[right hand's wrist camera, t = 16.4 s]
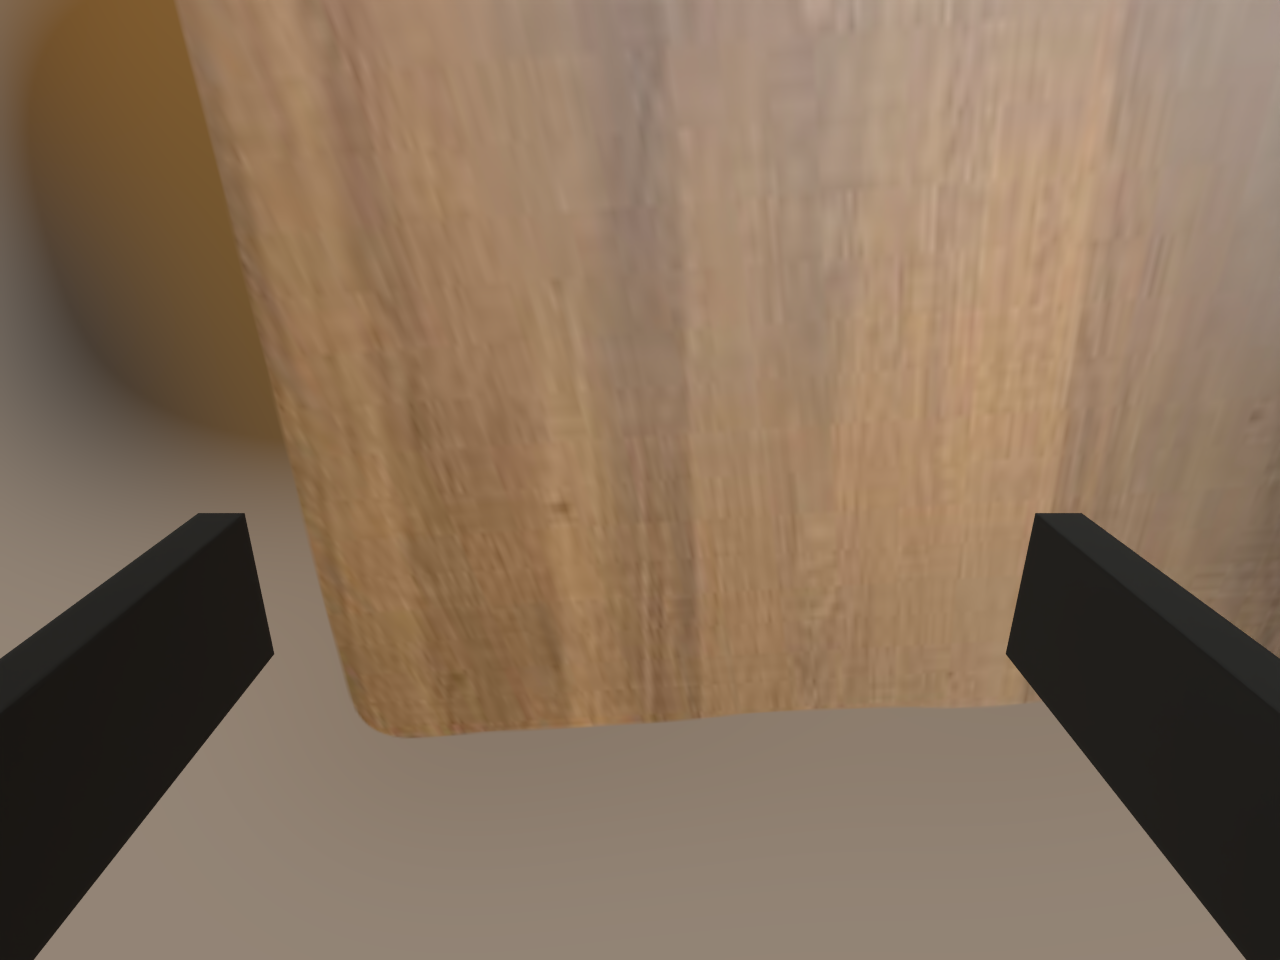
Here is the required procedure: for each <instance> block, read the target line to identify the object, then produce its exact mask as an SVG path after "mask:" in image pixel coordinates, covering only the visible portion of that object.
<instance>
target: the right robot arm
mask: <svg viewBox="0 0 1280 960" xmlns="http://www.w3.org/2000/svg"><path fill="white" fill-rule="evenodd" d="M273 655H274V651H273V646H272V641H271V637H270V632H269V627H268V622H267V618H266V613H265V608H264V603H263V599H262V594H261V589H260V584H259V580H258V575H257V570H256V565H255V561H254V556H253V551H252V546H251V542H250V537H249V532H248V528H247V523H246V518H245V514H244V513H198V514H197V515H195V516H194V517H193V518H191V519H190V520H189V521H187V522H186V523H184V524H183V525H182V526H180V527H179V528H178V529H176V530H175V531H174V532H172V533H171V534H169V535H168V536H167V537H165V538H164V539H163V540H161V541H160V542H159V543H157V544H156V545H155V546H153V547H152V548H151V549H149V550H148V551H146V552H145V553H144V554H142V555H141V556H140V557H138V558H137V559H135V560H134V561H133V562H131V563H130V564H129V565H127V566H126V567H125V568H123V569H122V570H120V571H119V572H118V573H116V574H115V575H114V576H112V577H111V578H110V579H108V580H107V581H105V582H104V583H103V584H101V585H100V586H99V587H97V588H96V589H95V590H93V591H92V592H91V593H89V594H88V595H86V596H85V597H84V598H82V599H81V600H80V601H78V602H77V603H76V604H74V605H73V606H71V607H70V608H69V609H67V610H66V611H65V612H63V613H62V614H61V615H59V616H58V617H56V618H55V619H54V620H52V621H51V622H50V623H48V624H47V625H46V626H44V627H43V628H41V629H40V630H39V631H37V632H36V633H35V634H33V635H32V636H31V637H29V638H28V639H27V640H25V641H24V642H22V643H21V644H20V645H18V646H17V647H16V648H14V649H13V650H12V651H10V652H9V653H7V654H6V655H5V656H3V657H2V658H1V659H0V960H34V959H35V957H36V956H37V955H38V953H39V952H40V951H41V950H42V948H43V947H44V946H45V945H46V943H47V942H48V941H49V939H50V938H51V937H52V936H53V934H54V933H55V932H56V931H57V929H58V928H59V927H60V926H61V924H62V923H63V922H64V920H65V919H66V918H67V917H68V915H69V914H70V913H71V911H72V910H73V909H74V908H75V907H76V905H77V904H78V903H79V901H80V900H81V899H82V898H83V896H84V895H85V894H86V893H87V891H88V890H89V889H90V887H91V886H92V885H93V884H94V882H95V881H96V880H97V879H98V877H99V876H100V875H101V873H102V872H103V871H104V870H105V868H106V867H107V866H108V865H109V863H110V862H111V861H112V859H113V858H114V857H115V856H116V854H117V853H118V852H119V851H120V849H121V848H122V847H123V845H124V844H125V843H126V842H127V840H128V839H129V838H130V837H131V835H132V834H133V833H134V831H135V830H136V829H137V828H138V826H139V825H140V824H141V823H142V821H143V820H144V819H145V818H146V816H147V815H148V814H149V812H150V811H151V810H152V809H153V807H154V806H155V805H156V804H157V802H158V801H159V800H160V798H161V797H162V796H163V795H164V793H165V792H166V791H167V790H168V788H169V787H170V786H171V784H172V783H173V782H174V781H175V779H176V778H177V777H178V776H179V774H180V773H181V772H182V770H183V769H184V768H185V767H186V765H187V764H188V763H189V762H190V760H191V759H192V758H193V756H194V755H195V754H196V753H197V751H198V750H199V749H200V748H201V746H202V745H203V744H204V743H205V741H206V740H207V739H208V737H209V736H210V735H211V734H212V732H213V731H214V730H215V728H216V727H217V726H218V725H219V723H220V722H221V721H222V720H223V718H224V717H225V716H226V715H227V713H228V712H229V711H230V709H231V708H232V707H233V706H234V704H235V703H236V702H237V701H238V699H239V698H240V697H241V695H242V694H243V693H244V692H245V690H246V689H247V688H248V687H249V685H250V684H251V683H252V681H253V680H254V679H255V678H256V676H257V675H258V674H259V673H260V671H261V670H262V669H263V667H264V666H265V665H266V664H267V662H268V661H269V660H270V659H271V657H272V656H273ZM1006 655H1007V656H1008V657H1009V659H1010V660H1011V661H1012V662H1013V664H1014V665H1015V666H1016V668H1017V669H1018V670H1019V671H1020V673H1021V674H1022V675H1023V676H1024V678H1025V679H1026V680H1027V682H1028V683H1029V684H1030V685H1031V687H1032V688H1033V689H1034V690H1035V692H1036V693H1037V694H1038V695H1039V697H1040V698H1041V699H1042V701H1043V702H1044V703H1045V704H1046V706H1047V707H1048V708H1049V709H1050V711H1051V712H1052V713H1053V715H1054V716H1055V717H1056V718H1057V720H1058V721H1059V722H1060V723H1061V725H1062V726H1063V727H1064V729H1065V730H1066V731H1067V732H1068V734H1069V735H1070V736H1071V737H1072V739H1073V740H1074V741H1075V742H1076V744H1077V745H1078V746H1079V748H1080V749H1081V750H1082V751H1083V753H1084V754H1085V755H1086V756H1087V758H1088V759H1089V760H1090V762H1091V763H1092V764H1093V765H1094V767H1095V768H1096V769H1097V770H1098V772H1099V773H1100V774H1101V776H1102V777H1103V778H1104V779H1105V781H1106V782H1107V783H1108V784H1109V786H1110V787H1111V788H1112V790H1113V791H1114V792H1115V793H1116V795H1117V796H1118V797H1119V798H1120V800H1121V801H1122V802H1123V804H1124V805H1125V806H1126V807H1127V809H1128V810H1129V811H1130V812H1131V814H1132V815H1133V816H1134V818H1135V819H1136V820H1137V821H1138V823H1139V824H1140V825H1141V826H1142V828H1143V829H1144V830H1145V831H1146V833H1147V834H1148V835H1149V837H1150V838H1151V839H1152V840H1153V842H1154V843H1155V844H1156V845H1157V847H1158V848H1159V849H1160V851H1161V852H1162V853H1163V854H1164V856H1165V857H1166V858H1167V859H1168V861H1169V862H1170V863H1171V865H1172V866H1173V867H1174V868H1175V870H1176V871H1177V872H1178V873H1179V875H1180V876H1181V877H1182V879H1183V880H1184V881H1185V882H1186V884H1187V885H1188V886H1189V887H1190V889H1191V890H1192V891H1193V893H1194V894H1195V895H1196V896H1197V898H1198V899H1199V900H1200V901H1201V903H1202V904H1203V905H1204V906H1205V908H1206V909H1207V910H1208V912H1209V913H1210V914H1211V915H1212V917H1213V918H1214V919H1215V920H1216V922H1217V923H1218V924H1219V926H1220V927H1221V928H1222V929H1223V931H1224V932H1225V933H1226V934H1227V936H1228V937H1229V938H1230V940H1231V941H1232V942H1233V943H1234V945H1235V946H1236V947H1237V948H1238V950H1239V951H1240V952H1241V954H1242V955H1243V956H1244V957H1245V959H1246V960H1280V659H1279V658H1278V657H1277V656H1275V655H1274V654H1273V653H1271V652H1270V651H1268V650H1267V649H1266V648H1264V647H1263V646H1262V645H1260V644H1259V643H1258V642H1256V641H1255V640H1253V639H1252V638H1251V637H1249V636H1248V635H1247V634H1245V633H1244V632H1243V631H1241V630H1240V629H1239V628H1237V627H1236V626H1234V625H1233V624H1232V623H1230V622H1229V621H1228V620H1226V619H1225V618H1224V617H1222V616H1221V615H1219V614H1218V613H1217V612H1215V611H1214V610H1213V609H1211V608H1210V607H1209V606H1207V605H1206V604H1204V603H1203V602H1202V601H1200V600H1199V599H1198V598H1196V597H1195V596H1194V595H1192V594H1191V593H1189V592H1188V591H1187V590H1185V589H1184V588H1183V587H1181V586H1180V585H1179V584H1177V583H1176V582H1175V581H1173V580H1172V579H1170V578H1169V577H1168V576H1166V575H1165V574H1164V573H1162V572H1161V571H1160V570H1158V569H1157V568H1155V567H1154V566H1153V565H1151V564H1150V563H1149V562H1147V561H1146V560H1145V559H1143V558H1142V557H1140V556H1139V555H1138V554H1136V553H1135V552H1134V551H1132V550H1131V549H1130V548H1128V547H1127V546H1125V545H1124V544H1123V543H1121V542H1120V541H1119V540H1117V539H1116V538H1115V537H1113V536H1112V535H1111V534H1109V533H1108V532H1106V531H1105V530H1104V529H1102V528H1101V527H1100V526H1098V525H1097V524H1096V523H1094V522H1093V521H1091V520H1090V519H1089V518H1087V517H1086V516H1085V515H1083V514H1082V513H1035V518H1034V523H1033V527H1032V532H1031V537H1030V542H1029V546H1028V551H1027V556H1026V561H1025V565H1024V570H1023V575H1022V580H1021V584H1020V589H1019V594H1018V599H1017V603H1016V608H1015V613H1014V618H1013V622H1012V627H1011V632H1010V636H1009V641H1008V646H1007V651H1006Z"/></svg>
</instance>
